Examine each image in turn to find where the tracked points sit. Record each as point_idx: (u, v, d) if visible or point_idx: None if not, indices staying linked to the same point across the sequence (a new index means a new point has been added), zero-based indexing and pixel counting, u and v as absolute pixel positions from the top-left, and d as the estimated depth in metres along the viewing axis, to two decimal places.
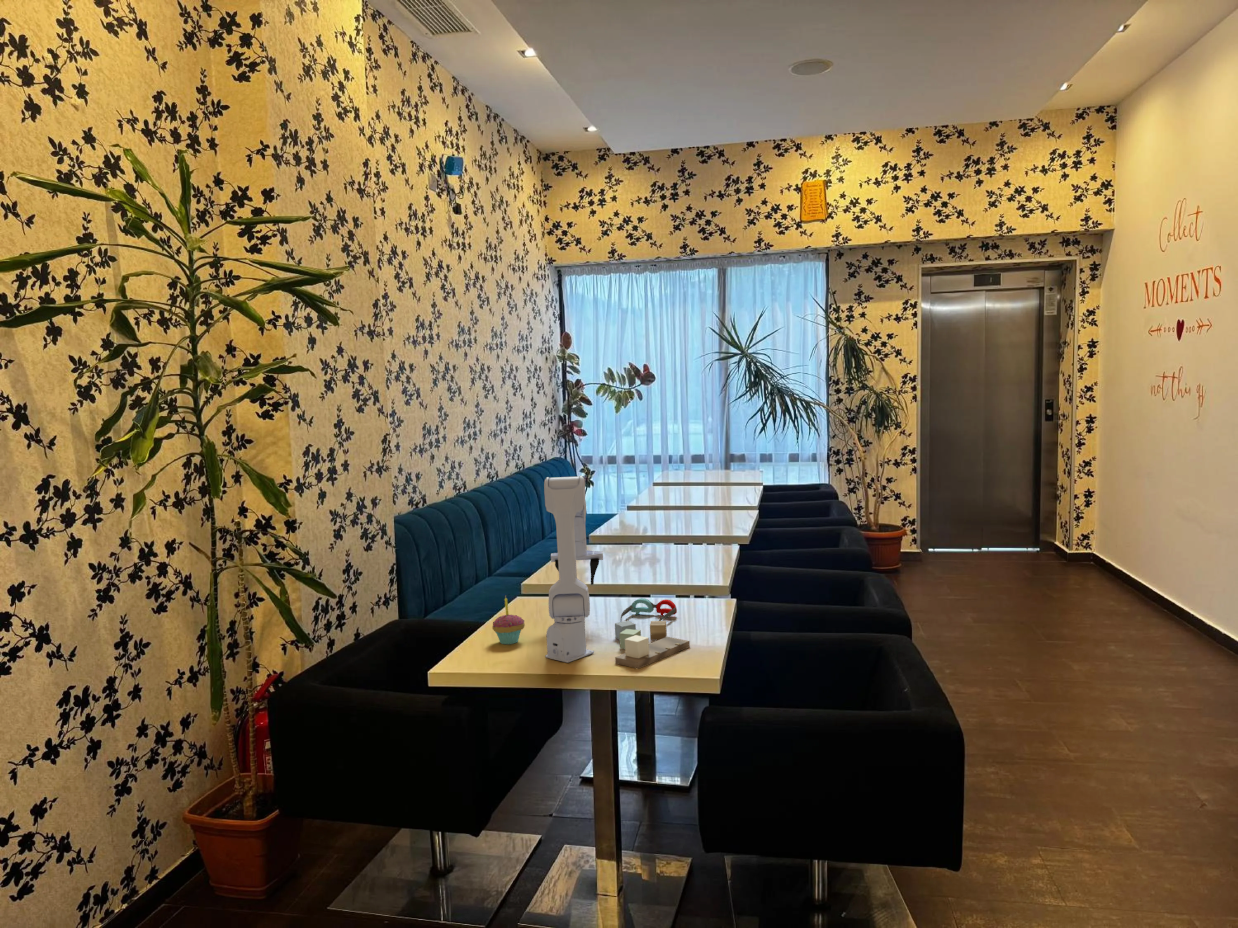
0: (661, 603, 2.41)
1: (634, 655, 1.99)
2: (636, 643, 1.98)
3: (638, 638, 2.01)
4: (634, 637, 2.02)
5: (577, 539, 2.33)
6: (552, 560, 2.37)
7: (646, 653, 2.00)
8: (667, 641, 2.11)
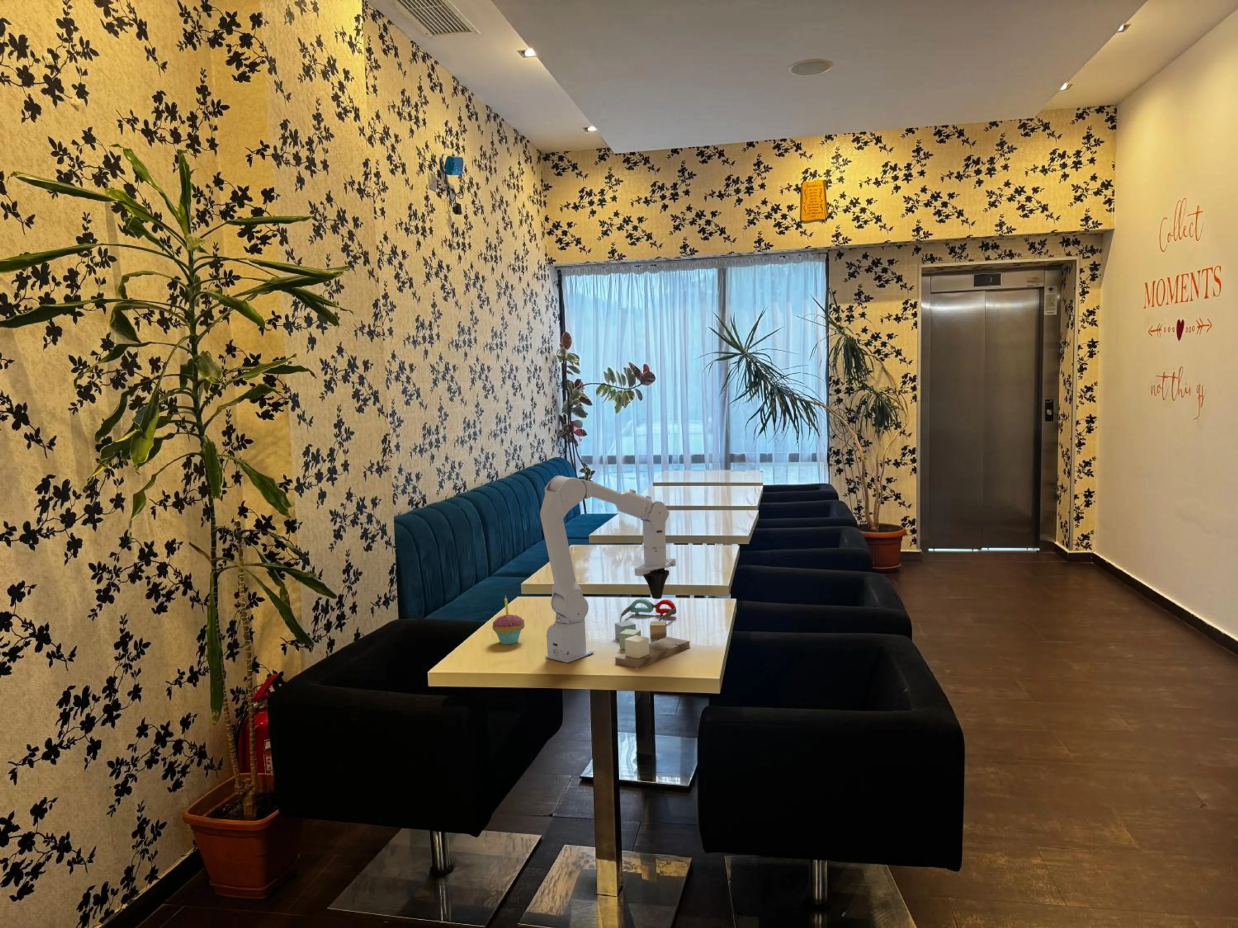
0: (661, 603, 2.41)
1: (634, 655, 1.99)
2: (636, 643, 1.98)
3: (638, 638, 2.01)
4: (634, 637, 2.02)
5: (646, 545, 2.16)
6: None
7: (646, 653, 2.00)
8: (667, 641, 2.11)
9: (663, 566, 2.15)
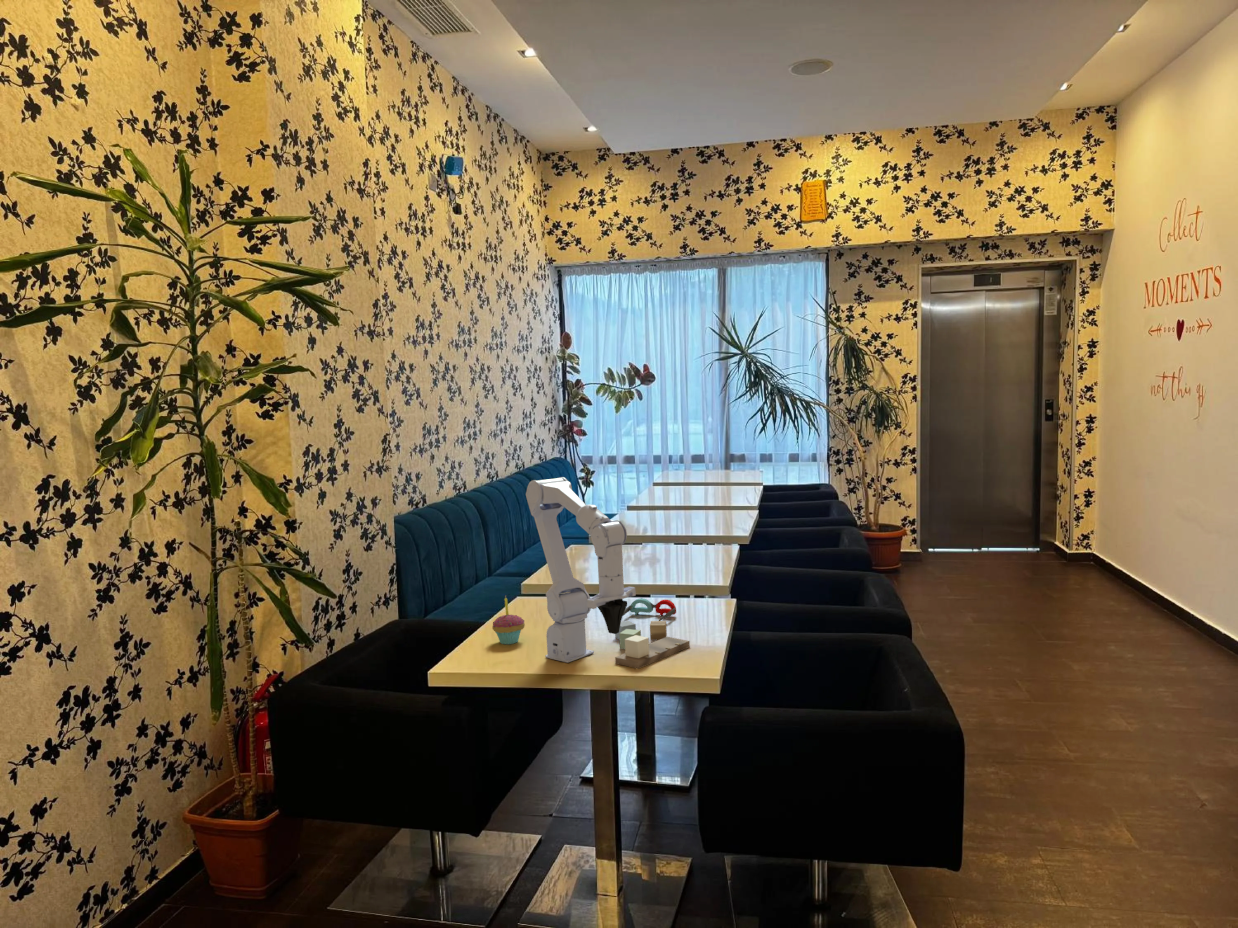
0: (660, 603, 2.41)
1: (634, 655, 1.99)
2: (636, 643, 1.98)
3: (638, 638, 2.01)
4: (634, 637, 2.02)
5: None
6: None
7: (646, 653, 2.00)
8: (667, 641, 2.11)
9: (620, 597, 1.91)
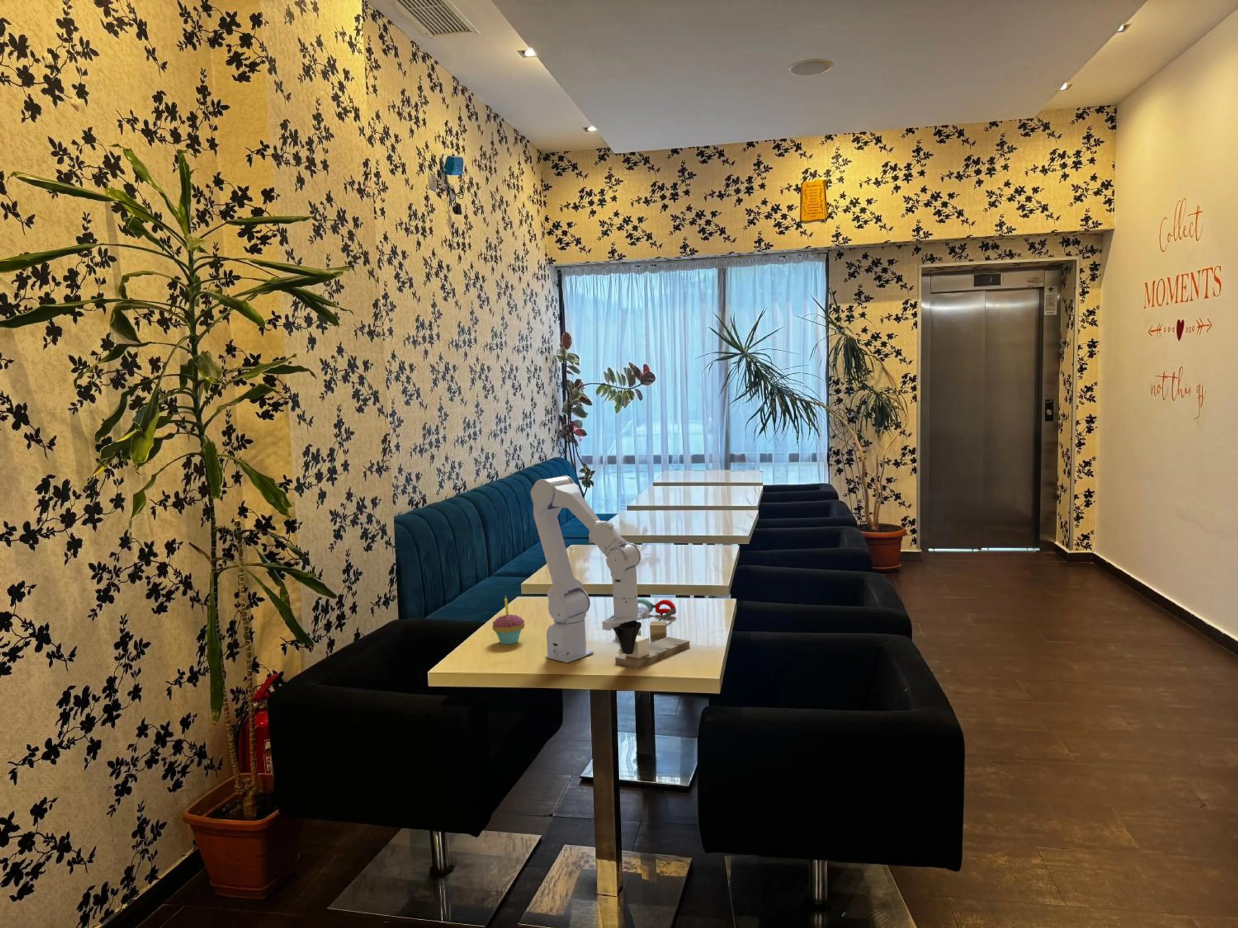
0: (660, 603, 2.41)
1: (634, 655, 1.99)
2: (636, 643, 1.98)
3: (638, 638, 2.01)
4: None
5: None
6: None
7: (646, 653, 2.01)
8: (667, 641, 2.11)
9: (634, 618, 1.95)
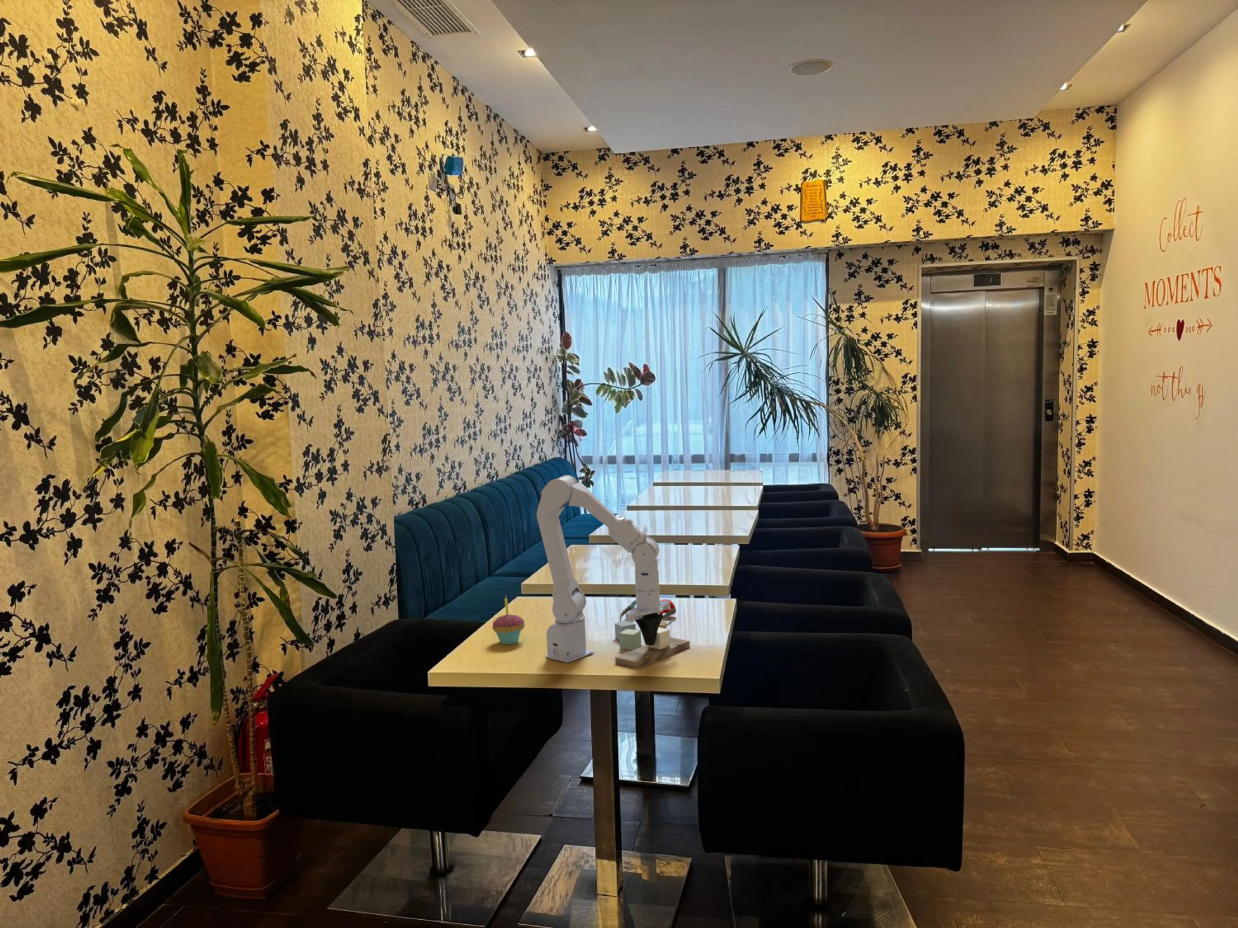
0: None
1: (656, 646, 2.05)
2: (658, 635, 2.04)
3: (659, 629, 2.07)
4: None
5: None
6: None
7: (667, 644, 2.07)
8: None
9: (656, 611, 2.01)
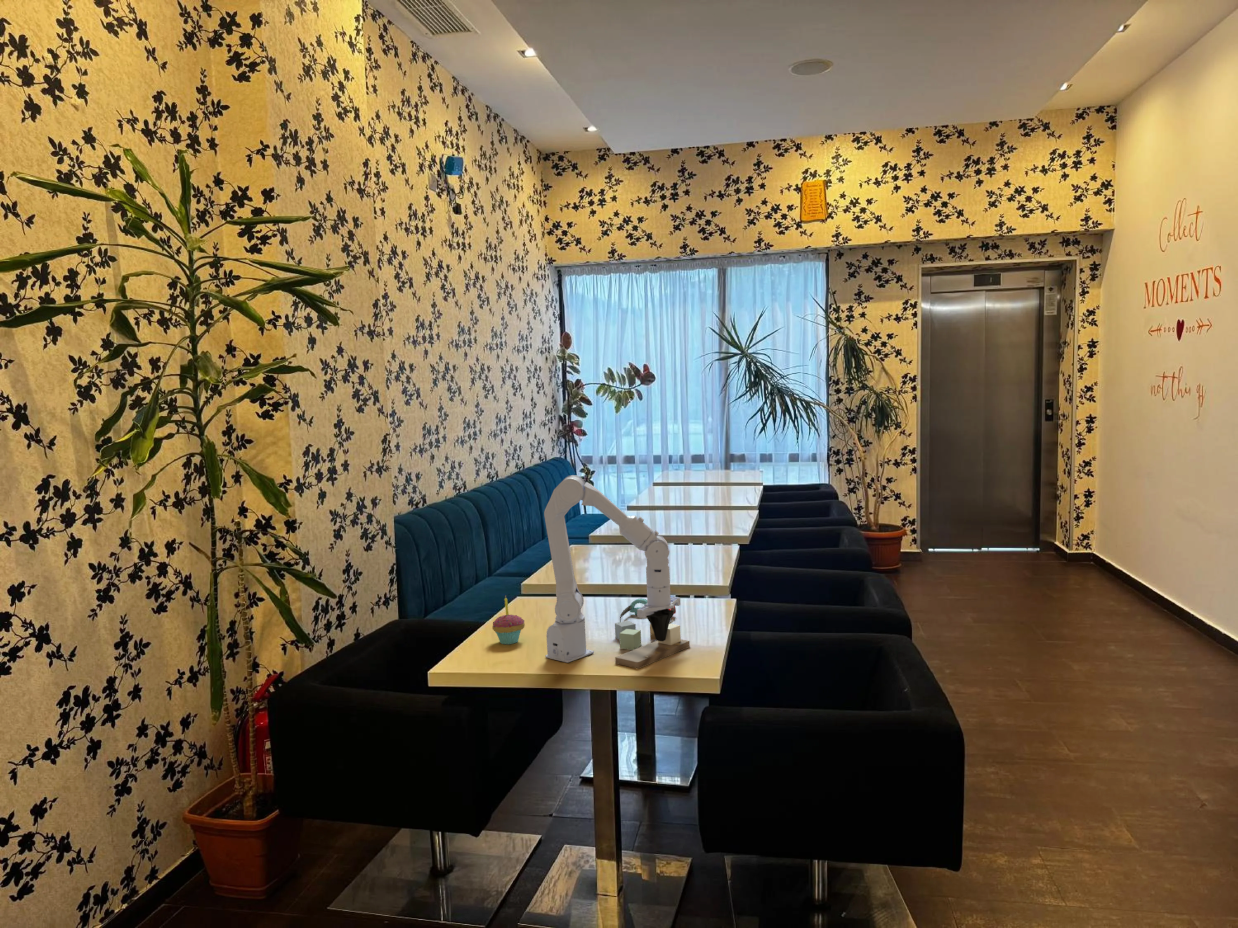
0: None
1: (667, 642, 2.08)
2: (669, 630, 2.07)
3: (670, 625, 2.10)
4: None
5: None
6: None
7: (678, 640, 2.10)
8: None
9: (667, 607, 2.04)
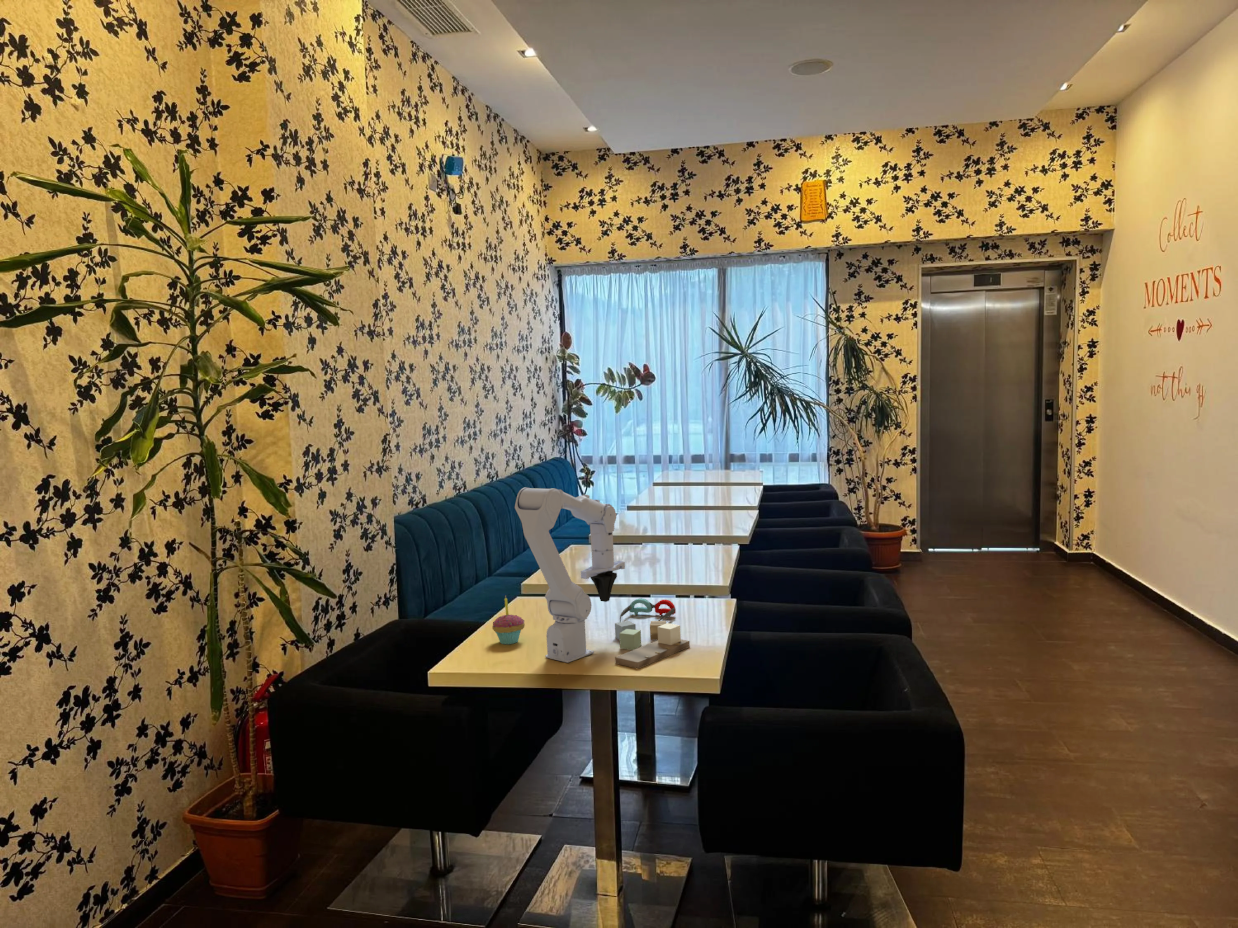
0: (660, 603, 2.41)
1: (667, 642, 2.08)
2: (669, 630, 2.07)
3: (670, 625, 2.10)
4: (666, 625, 2.11)
5: (598, 548, 2.16)
6: None
7: (678, 640, 2.10)
8: None
9: (610, 569, 2.16)
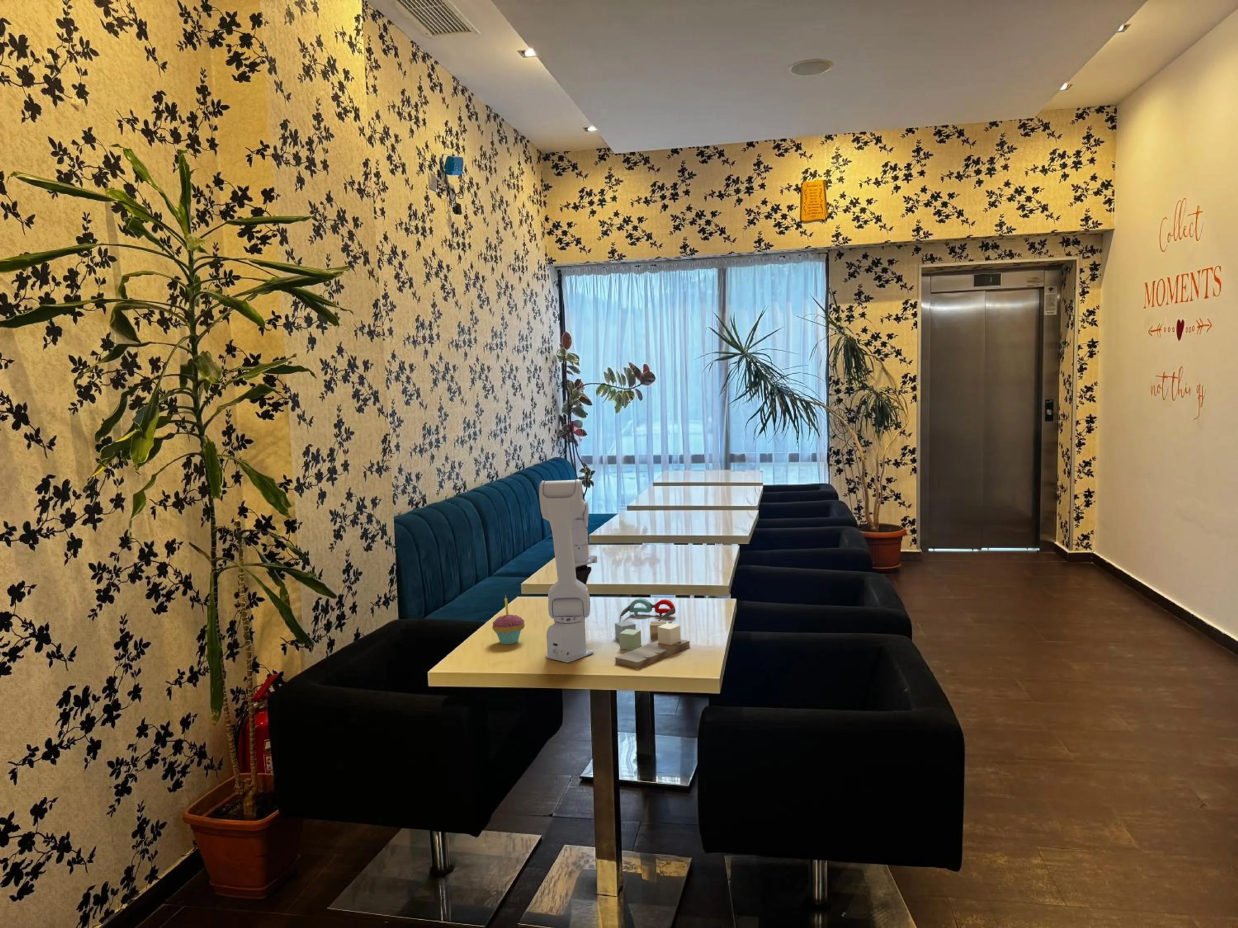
0: (660, 603, 2.41)
1: (667, 642, 2.08)
2: (669, 630, 2.07)
3: (670, 625, 2.10)
4: (666, 625, 2.11)
5: (578, 543, 2.24)
6: None
7: (678, 640, 2.10)
8: None
9: (586, 563, 2.24)
